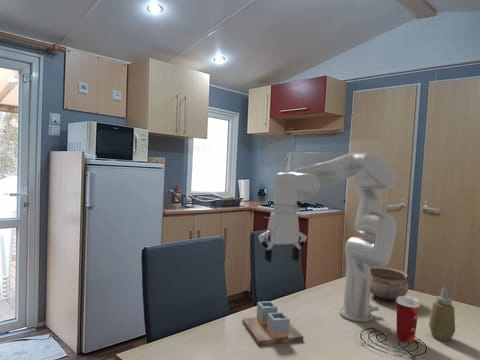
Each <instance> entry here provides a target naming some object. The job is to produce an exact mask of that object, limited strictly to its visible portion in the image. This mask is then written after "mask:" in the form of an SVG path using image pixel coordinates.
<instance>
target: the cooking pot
mask: <svg viewBox="0 0 480 360" xmlns="http://www.w3.org/2000/svg"><path fill="white" fill-rule="evenodd" d="M369 267H370V271H371V284H370V294H372V295H373V296H375V297H377V298H378V299H380V300H382V301H387V302H391V301H393V300H396V299H397V298H398V296H406V294H407V293H408V292H409V288H410V287H409V281H408V279H407V277H408V276H409V275H408V274H407V273H406V272H404V271H401V270H398V269H395V268H390V267H386V266H384V267H375V266H369Z"/></svg>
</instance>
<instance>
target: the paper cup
mask: <svg viewBox="0 0 480 360" xmlns="http://www.w3.org/2000/svg"><path fill="white" fill-rule="evenodd" d="M395 302H396V338H397V339H398V340H399V341H401V342H404V343H411V344H412V343H414V342H415V339H416V330H417V326H418V325H417V324H418V319H419V312H420V311H419V309H420V307H421V304H420V301H419V300H418V299H417V298H414V297H412V296H409V295H408V296H407V295H404V296H398V298H397V299H395Z"/></svg>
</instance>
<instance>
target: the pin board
mask: <svg viewBox="0 0 480 360" xmlns="http://www.w3.org/2000/svg"><path fill="white" fill-rule="evenodd" d="M264 307H269V306H264ZM275 319H281V318H278V317H277V318H275ZM241 322H242V324H243V325H244V328H246V330H247V331H248V333H249V334H250V336H251V337H252V338H253V339H252V340H254V341H255V343H256V344H257V345H258V346H267V345H277V344H285V343H296V342H304V335H303V334H302V333H301V332H300V331H299V329H297V328H296V327H295V326H294V325H293V324H292V323H291V322H289V337H283V338H272V337H271V335H270V334H269V333H268V332H267V324H265V325H262V324H261V323H260V322H259V320H258V319H257V316H255V317H253V316H252V317H242V321H241Z"/></svg>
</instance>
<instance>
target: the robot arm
mask: <svg viewBox="0 0 480 360" xmlns="http://www.w3.org/2000/svg"><path fill="white" fill-rule="evenodd" d="M350 177H351V178H352V180H353V182H354V184H355V186H356V188H357V190H358V193H359V204H358V208H357V213H356V216H355V221H354V229H355V231H356V232H357V233H359V234H362V235H365V236H370V237H374V238H375V240H374V239H370V238H367V237H361V236H352V237H349V239H347V240H346V242H345V245H344V254H345V262H346V263H345V264H346V267H345V281H344V282H345V283H344V284H345V285H344V295H343V297H344V300H343V306H342V307H341V308H340V309H339V311H338V312H339V313H338V314H339V315H340V316H341V317H342V318H344V319H346V320H348V321H352V322H355V323H368V322H369V323H370V322H371V321H372V320H373V314H372V313H373V312H379V310H380V308H379V305H373V306H372V304H370V296H371V292H370V284H371V271H370V267H386V266H387V265H388V264H389V262H390V259H391V256H392V252H393V248H394V243H395V238H396V234H397V227H398V226H397V222H396V220H395V218H394V216H392V215H391V214H387V213H383V212H382V205H383V198H382V195H381V193H380V191H379V190H389V189H391V188H392V187H394V185H395V184H396V180H397V175H396V173H395V171H394V169H393V168H392V167H391V166H390V165H388V164H387V163H386V162H385V161H384V160H383V159H381V158H380V157H379V156H377V155H376V154H374V153H372V152H350V153H346V154H344V155H341V156H338V157H336V158H333V159H331V160H328V161H325V162H324V161H323V162H320V163H316V164H311V165H306V166H303V167H299V168H297V169H294V170H292V171H290V172H278V173H276V174H275V181H274V193H273V194H274V195H273V197H274V198H273V212H271V213H270V216H269V218H268V223H267V231H265V232H263V233H261V234H259V235H258V237H257V238H258V240H259V242H260V244H261V246H263V248H264V249H265V250H264V259H265V261H267V263H271V262H272V253H273V252H272V251H273V250H272V248H273V246H274V245H292V247H293V248H292V249H291V250H292V253H291V260H293V261H294V262H298V261H299V257H300V250H301V249H302V247H303V246H304V245H305V242H306V241H307V239H308V235H306V234H304V233H303V232H301V231H300V223H299V217H298V216H299V215H298V214H297V213H298V212H299V211H300V209H301V208H300V206H298V204H297V202H298V201H297V200H298V195H301V196H306V197H307V196H308V197H309V196H314V195H316V194H317V193H318V192H319V191H320V189H321V186H322V185H323V186H325V185H333V184H337V183H340V182H341V181H345V180H347V179H349V178H350ZM265 239H266V240H265Z"/></svg>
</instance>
